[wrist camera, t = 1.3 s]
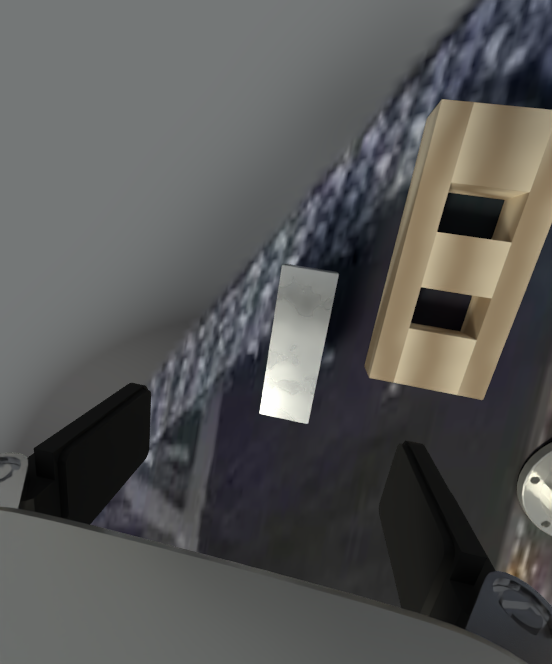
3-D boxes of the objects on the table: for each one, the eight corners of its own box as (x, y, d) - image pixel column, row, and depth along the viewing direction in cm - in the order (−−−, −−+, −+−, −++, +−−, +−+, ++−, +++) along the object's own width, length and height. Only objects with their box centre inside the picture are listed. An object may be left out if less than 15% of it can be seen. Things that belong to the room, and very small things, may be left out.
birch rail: (559, 132, 23) (593, 113, 20) (466, 385, 29) (482, 400, 26) (427, 118, 24) (441, 99, 21) (364, 365, 30) (369, 377, 27)
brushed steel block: (333, 269, 28) (338, 274, 20) (310, 382, 31) (307, 424, 23) (292, 262, 28) (282, 265, 20) (274, 375, 31) (259, 413, 24)
